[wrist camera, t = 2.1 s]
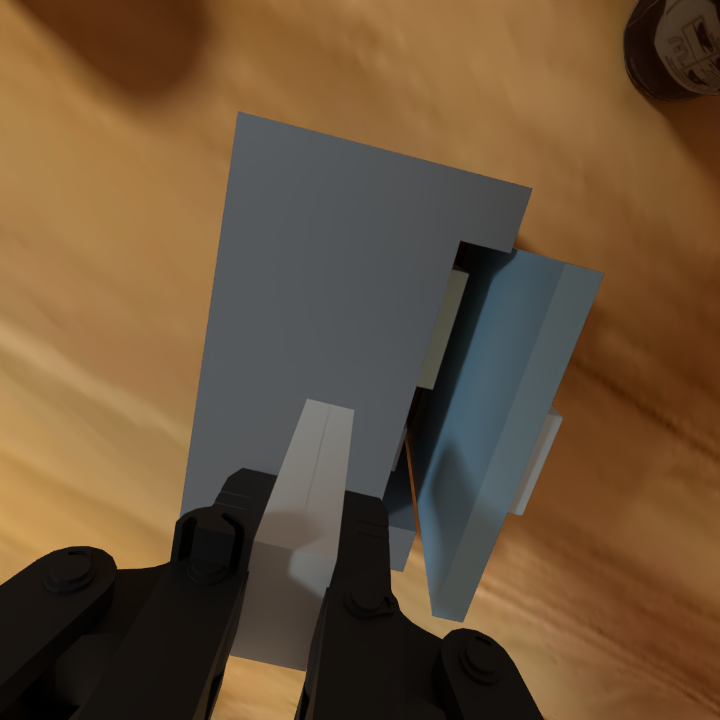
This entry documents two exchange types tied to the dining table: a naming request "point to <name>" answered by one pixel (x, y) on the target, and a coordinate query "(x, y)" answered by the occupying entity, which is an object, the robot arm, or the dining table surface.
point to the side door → (492, 410)
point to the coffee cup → (674, 48)
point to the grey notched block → (333, 303)
